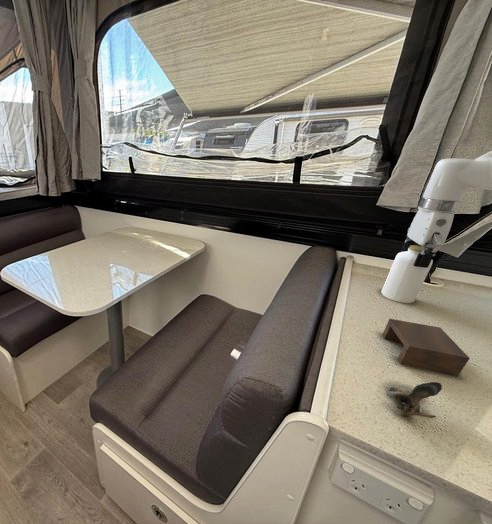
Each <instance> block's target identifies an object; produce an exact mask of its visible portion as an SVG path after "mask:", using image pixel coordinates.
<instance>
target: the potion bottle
mask: <svg viewBox="0 0 492 524" xmlns="http://www.w3.org/2000/svg"><path fill="white" fill-rule="evenodd" d="M417 245H418V244H417ZM417 245H411V246H410V248H408V251H404V252H401V251H400V252H398V253H397V254H396V255H395V258H394V260H393V262H392V265H391V267H390V268H389V269H390V270H389V272H388V275H387V277H386V280H385V282H384V284H383V286H382V289H381V292H380V293H381V295H382V296H384V297H385V298H386V299H389V300H391V301H395V302H397V303H403V304H412V303H414V302H415V300H416V299H417V297H418V295H419V293H420V291H421V288H422V286H423V284H424V283H425V280H426V278H427V277H428V274H429V273H430V270H431V268H432V265H433V264H434V263H433V262H434V260H433V259H432V260H431V262H430V264H429V266H428V268H424V267H415V266H414V262H415V260H416V258H417V256H418V254H419V253H421V245H418V246H417ZM427 249H429V247H426V250H427Z"/></svg>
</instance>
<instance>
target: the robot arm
mask: <svg viewBox="0 0 492 524" xmlns="http://www.w3.org/2000/svg"><path fill="white" fill-rule="evenodd" d="M467 188H474V189H479V190H480V189H481V190H484V191H485V190H486V191H492V150H491V151H488V152H486V153H484V154H482V155H480V156H479V157H476V158H474V159H473V158H459V157H457V158H451V157H450V158H449V157H448V158H442V159H440V160H439V161H438V162H437V163H436V164H435V166H434V169H433V171H432V173H431V176H430V178H429V180H428V182H427V185H426V187H425V189H424V192H423V195H422V197H421V200H420V202H419V204H418V207H417V209H418V210H417V212H416V214H415V216H414V217H413V219H412V221H411V224H410V226H409V227H408V228H407V234H406V235H405V237H406V238H405V240H404V244H403V245H402V247H401V250H400V252H404V251H408V248H410V246H411V245H417V246H421V253H419V254H418V256H417V258H416V260H415V262H414V266H415V267H424V268H428V266H429V264H430V262H431V260H433V258H434V257H435V256H436V254H438V253H439V251H440V250H441V249H442V248H443V246H444V244H445V242H446V240H447V237H448V236H449V233H450V231H451V228H452V225H453V221H454V217H455V213H456V211H457V209H458V207H459V205H460V203H461V201H462V199H463V198H464V195H465V193H466V191H467ZM426 248H428V249H427V250H426Z"/></svg>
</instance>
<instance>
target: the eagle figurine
mask: <svg viewBox="0 0 492 524" xmlns="http://www.w3.org/2000/svg"><path fill="white" fill-rule="evenodd" d="M442 387H443V385H442V383H441V382H438V381H431V382H425V383H420V384H417V385H416V386H414V387H413V389H412V390H410V391H409V390H407V389H406V388H401V387H396V386H395V387H393V386H391V387H390V388H389V390H388V391H387V392H386V396H388V397H394V398H398V399H399V402H400V406H396V409H398V410H400V411H401V413H400V416H402V417H405V418H406V417H410V416H419V417H424V418H428V419H434V418H437V416H436V415H435V414H429V413H424V412H423V411H424V410H423V409H422V407H421V405H420V402H421V401H422V400H424V399H428V398H429V397H435V396H437V395H438V394H439V393H440V392H441V391H442V390H443V388H442Z"/></svg>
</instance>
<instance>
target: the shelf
mask: <svg viewBox="0 0 492 524" xmlns="http://www.w3.org/2000/svg"><path fill="white" fill-rule="evenodd" d="M381 336H382V337H383V339H384V340H389V341H393V342H399V343H402V345H403V346H402V349H401V351H400V353H399V355H398V357H397V361H398V363H399V364H400V365H401V366H402V365H403V366H408V367H412V368H415V369H416V368H417V369H420V370H426V371H429V372H435V373H439V374H443V375H447V376H452V377H456V378H459V375H460V374H461V372H462V371H463V369H464V368H465V367H466V365H467V363H468V362H469V360H470V359H471V357H469V356H468V354H466V353H465V352H464V350H463V349H461V347H459V345H458V344H457V343H456V342H455V341H454V340H453V339H452V338H451V337H450V335H448V334H447V333H446V332H445V331H444V330H443V328H442V327H440V326H433V325H428V324H424V323H423V324H422V323H416V322H411V321H406V320H401V319H394V318H389V319H388V321H387V323H386V325H385V328H384V330H383V332H382V334H381Z"/></svg>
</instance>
